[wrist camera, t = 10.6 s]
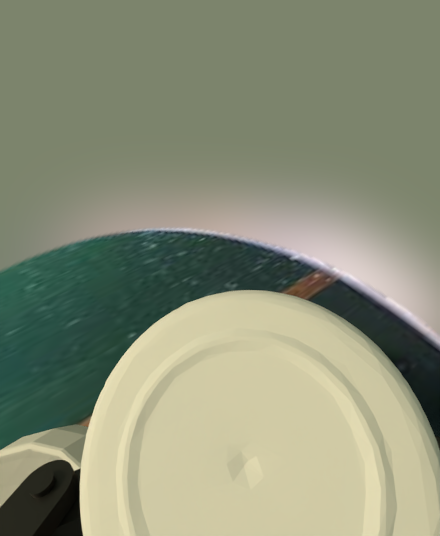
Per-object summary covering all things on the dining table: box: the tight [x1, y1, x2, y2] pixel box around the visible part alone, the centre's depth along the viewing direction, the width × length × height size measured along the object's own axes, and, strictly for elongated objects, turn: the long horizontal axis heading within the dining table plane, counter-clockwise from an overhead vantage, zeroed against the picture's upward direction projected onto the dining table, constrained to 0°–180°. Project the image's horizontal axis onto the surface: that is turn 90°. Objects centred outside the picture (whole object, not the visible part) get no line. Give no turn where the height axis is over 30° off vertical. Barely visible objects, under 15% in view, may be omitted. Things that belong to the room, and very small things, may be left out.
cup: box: [0, 425, 88, 507], centre depth 21 cm, size 12×12×10 cm
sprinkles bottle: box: [80, 290, 440, 536], centre depth 10 cm, size 5×5×14 cm
